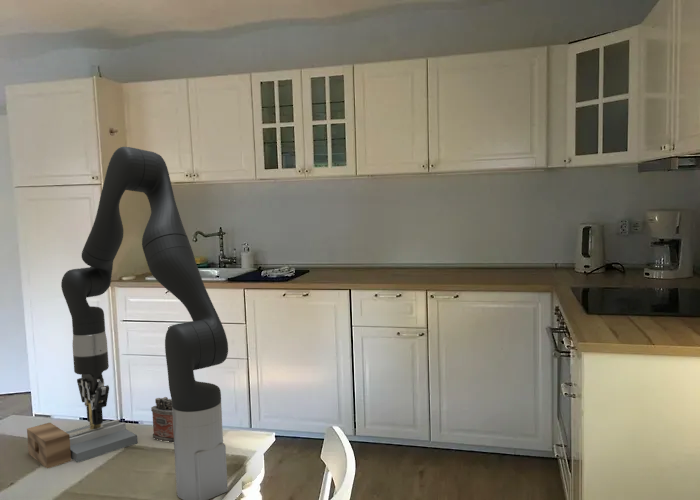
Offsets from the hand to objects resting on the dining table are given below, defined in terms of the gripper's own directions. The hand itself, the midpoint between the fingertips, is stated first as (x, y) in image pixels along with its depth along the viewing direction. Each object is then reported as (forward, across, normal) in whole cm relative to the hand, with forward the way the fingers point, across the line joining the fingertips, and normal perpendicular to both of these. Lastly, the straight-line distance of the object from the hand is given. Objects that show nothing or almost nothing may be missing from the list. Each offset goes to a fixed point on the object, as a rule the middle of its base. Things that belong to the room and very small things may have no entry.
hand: (95, 422), depth 139 cm
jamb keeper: (+5, 0, +11) cm, 12 cm away
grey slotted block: (+5, 0, +1) cm, 5 cm away
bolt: (+3, 0, +3) cm, 4 cm away
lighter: (+5, -11, -12) cm, 17 cm away
